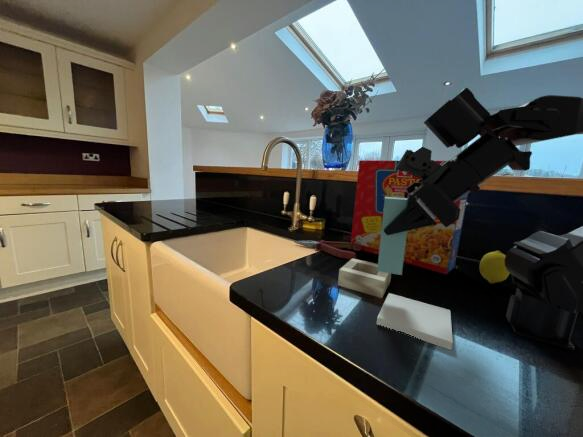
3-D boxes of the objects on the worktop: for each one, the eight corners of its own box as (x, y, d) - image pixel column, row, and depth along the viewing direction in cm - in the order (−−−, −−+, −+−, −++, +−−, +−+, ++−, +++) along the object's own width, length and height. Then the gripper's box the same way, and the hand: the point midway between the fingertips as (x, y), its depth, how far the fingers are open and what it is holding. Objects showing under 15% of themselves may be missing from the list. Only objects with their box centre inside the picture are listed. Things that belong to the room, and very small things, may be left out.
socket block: (390, 282, 55) (392, 267, 54) (382, 298, 47) (384, 281, 47) (350, 272, 59) (352, 258, 59) (337, 285, 52) (339, 269, 51)
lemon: (503, 282, 59) (510, 250, 57) (509, 291, 54) (517, 256, 52) (475, 276, 61) (481, 245, 60) (478, 284, 57) (485, 251, 55)
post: (400, 267, 46) (408, 198, 44) (401, 275, 42) (410, 200, 40) (377, 263, 47) (385, 196, 45) (377, 271, 44) (384, 198, 41)
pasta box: (350, 246, 81) (359, 160, 76) (362, 243, 87) (371, 162, 82) (446, 274, 62) (467, 160, 57) (454, 267, 67) (474, 163, 62)
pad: (448, 316, 42) (450, 310, 42) (451, 350, 34) (452, 342, 33) (387, 298, 47) (388, 292, 47) (376, 324, 39) (377, 317, 38)
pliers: (302, 241, 86) (303, 233, 86) (361, 251, 78) (362, 243, 78) (289, 249, 76) (289, 241, 75) (354, 262, 68) (355, 253, 67)
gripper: (423, 141, 48) (360, 193, 54) (444, 119, 31) (348, 200, 36) (464, 183, 47) (395, 233, 52) (510, 186, 29) (399, 259, 35)
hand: (385, 230), depth 44 cm, fingers closed on post, 4 cm apart
